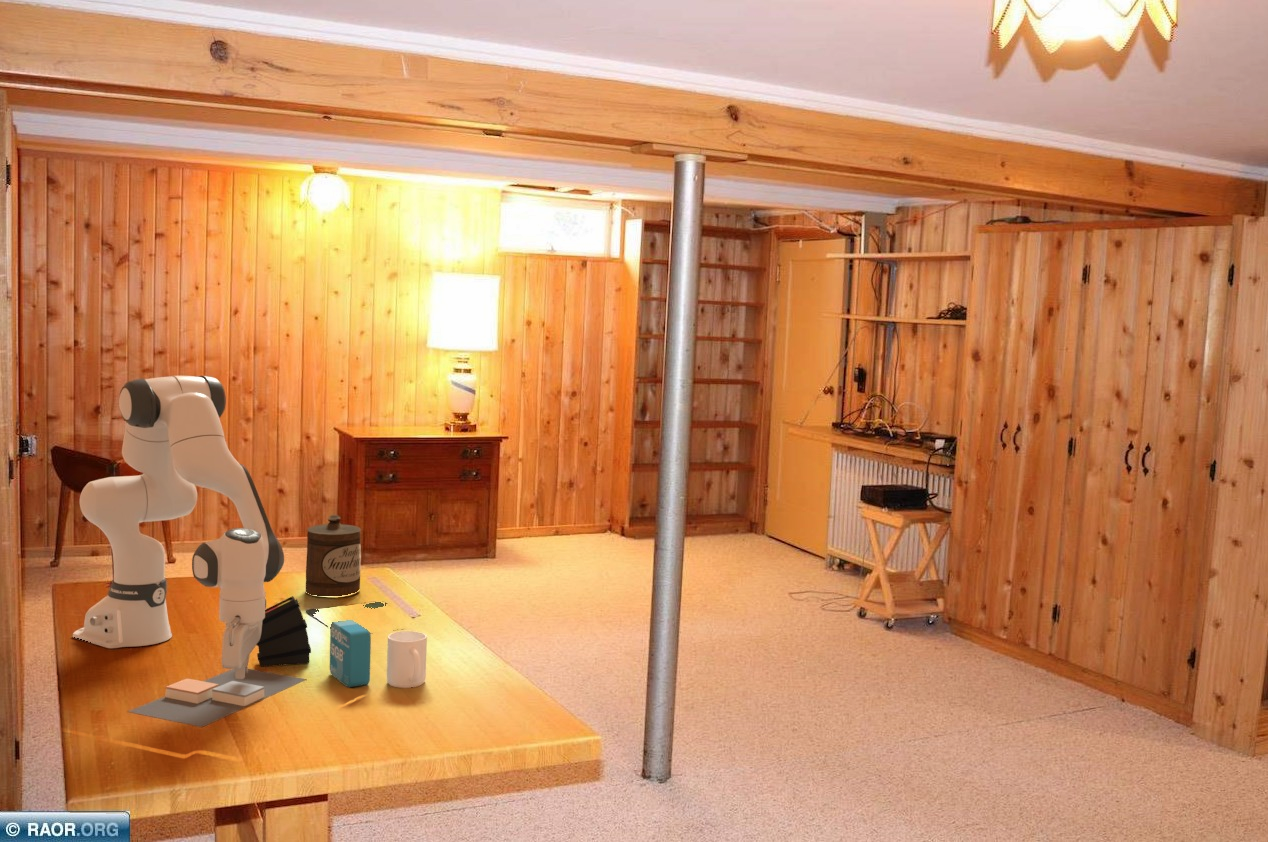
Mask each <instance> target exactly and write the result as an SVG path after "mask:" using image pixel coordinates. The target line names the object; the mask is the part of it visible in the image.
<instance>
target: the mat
mask: <svg viewBox="0 0 1268 842" xmlns="http://www.w3.org/2000/svg"><path fill="white" fill-rule="evenodd" d="M203 681H204V682H209V683H215V684H218V687H219V686H221V685H224V684H226V683H228V682H231V681H236V682H241V683H247V684H252V685H257V686H263V687H264V698H262V699H259V700H257V701H255V702H253V703H251V704H248V705H246V706H241V705H236V704H231V703H225V702H220V701H215V700H212V698H210V699H207V700H205V701H203V702H200V703H198V704H197V703H192V702H187V701H182V700H177V699H172V698H167V697H166V695H164V696H162V697H159V698H157V699H155V700H153V701H150V702H148V703H145V704H143V705H140V706H138V707H135V708H133V709H129V710H128V711H127V713H131V714H136V715H142V716H146V717H150V718H155V719H161V720H165V721H170V722H175V723H180V724H184V725H190V726H193V727H199V728H203V727H205V726H208V725H210V724H212V723H215V722H217V721H219V720H221V719H223V718H225V717H228V716H230V715H232V714H234V713H236V712H238V711H241V710H243V709H245V708H247V707H250V706H252V705H254V704H256V703H258V702H260V701H262V700H265V699H267V698H269V697H271V696H275V695H276V694H278V693H280V692H283V691H284V690H288V689H289V688H292V687H293V686H296V685H299V684H300V683H303V682H304V681H307V678H302V677H298V676H297V677H296V676H291V675H285V674H280V673H276V672H275V673H274V672H270V671H269V672H268V671H265V670H264V671H262V670H258V669H252V668H248V670H247V674H246V676H245V677H244V678H243V679H236V677H235V669H228V670H227V671H225V672H223V673H220V674H217V675H214V676H212V677H210V678H207V679H204V680H203Z"/></svg>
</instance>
